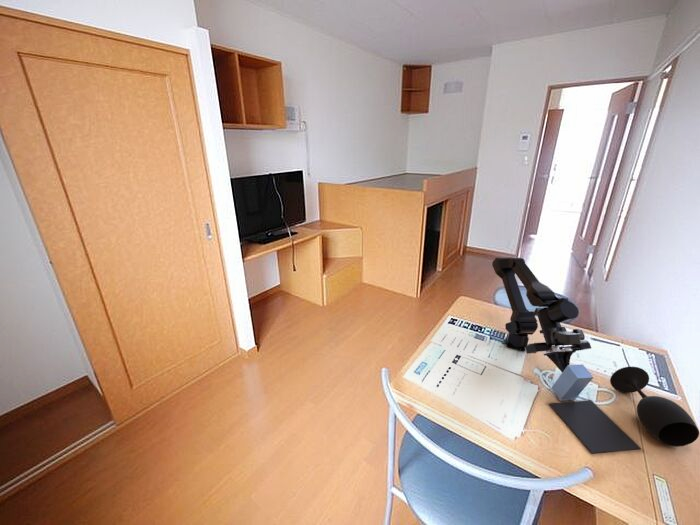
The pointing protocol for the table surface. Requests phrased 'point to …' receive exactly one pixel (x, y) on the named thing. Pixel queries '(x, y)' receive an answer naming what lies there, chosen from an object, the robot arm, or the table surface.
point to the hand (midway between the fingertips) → (566, 375)
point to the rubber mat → (593, 427)
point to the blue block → (572, 382)
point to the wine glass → (656, 409)
